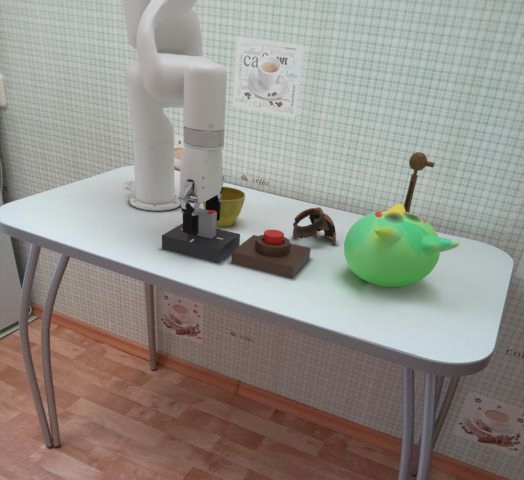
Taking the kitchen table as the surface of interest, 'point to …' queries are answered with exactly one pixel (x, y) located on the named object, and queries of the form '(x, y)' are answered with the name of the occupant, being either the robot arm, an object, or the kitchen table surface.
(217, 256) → the panel
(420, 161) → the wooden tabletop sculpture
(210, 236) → the grey upright block
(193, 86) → the robot arm
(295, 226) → the brown openwork arch
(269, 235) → the power button
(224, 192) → the flower pot
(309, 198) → the kitchen table surface
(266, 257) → the button block
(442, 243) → the toy bird
